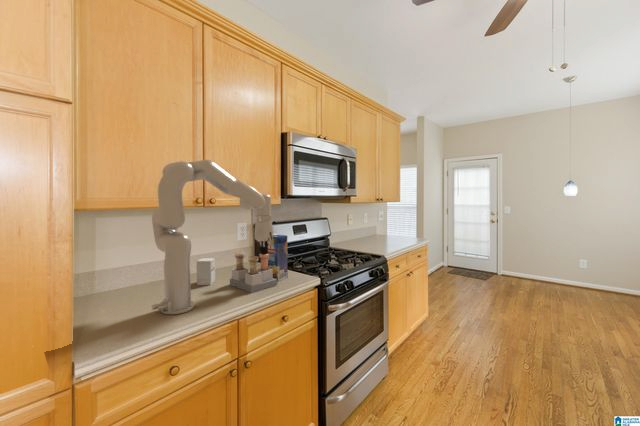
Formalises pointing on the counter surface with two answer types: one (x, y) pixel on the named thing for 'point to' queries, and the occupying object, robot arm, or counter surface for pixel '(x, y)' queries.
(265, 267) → the terracotta plug
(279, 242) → the juice carton
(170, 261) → the robot arm
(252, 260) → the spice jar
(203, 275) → the supplement box
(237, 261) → the beech plug far
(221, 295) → the counter surface
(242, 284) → the board
